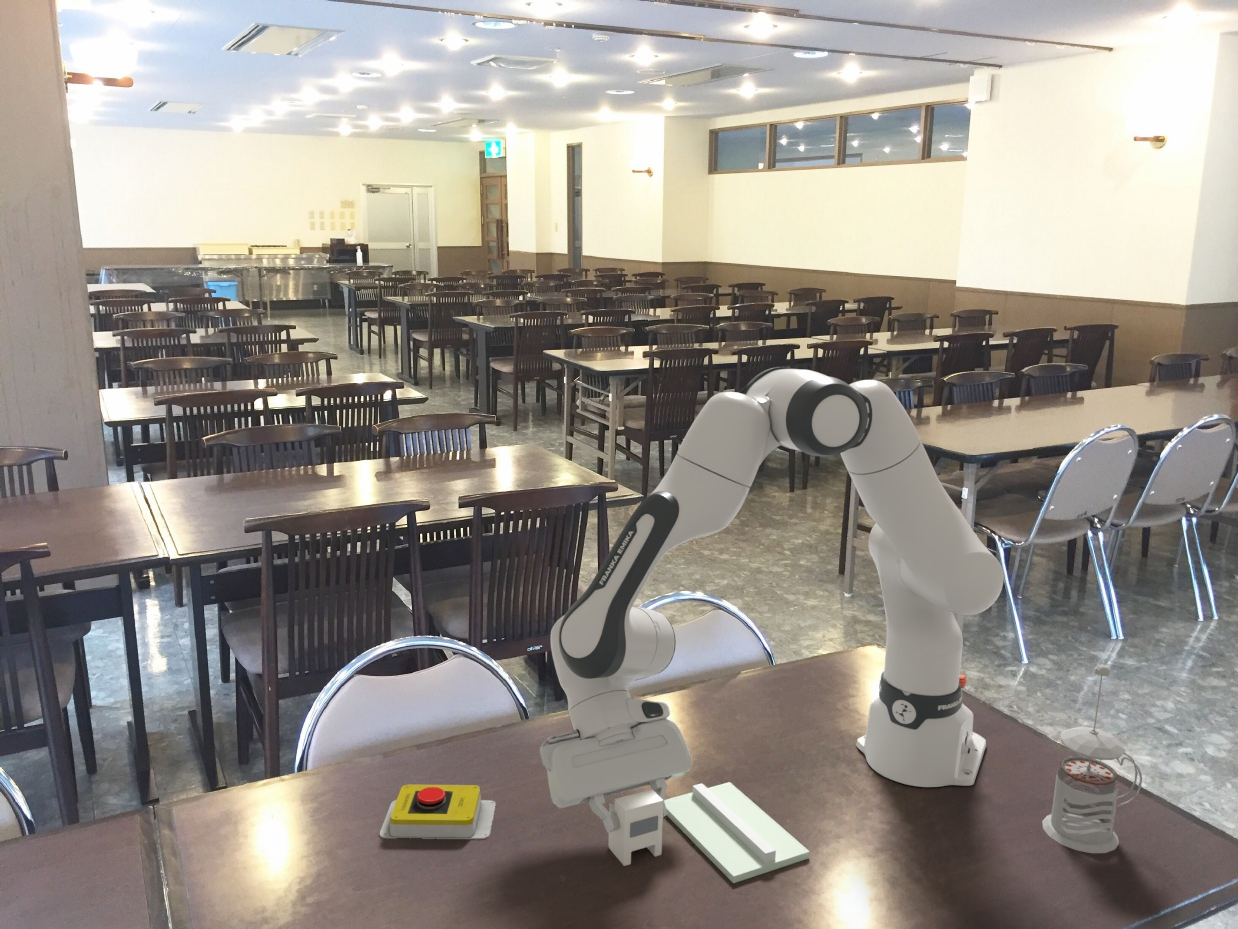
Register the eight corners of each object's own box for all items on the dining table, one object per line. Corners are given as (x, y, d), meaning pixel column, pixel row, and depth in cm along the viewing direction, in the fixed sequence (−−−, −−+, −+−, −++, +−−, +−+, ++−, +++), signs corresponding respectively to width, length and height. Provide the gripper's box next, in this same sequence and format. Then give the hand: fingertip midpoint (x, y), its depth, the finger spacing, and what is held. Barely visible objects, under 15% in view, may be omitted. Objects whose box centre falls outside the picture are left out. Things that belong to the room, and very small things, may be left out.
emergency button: (391, 775, 141) (496, 776, 142) (392, 803, 142) (496, 804, 143) (376, 812, 132) (488, 813, 133) (377, 841, 133) (489, 842, 134)
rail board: (659, 807, 142) (659, 792, 141) (729, 788, 147) (730, 773, 146) (733, 883, 125) (734, 866, 125) (809, 858, 131) (810, 842, 130)
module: (608, 847, 132) (609, 793, 130) (645, 836, 135) (646, 783, 133) (624, 867, 128) (626, 811, 126) (662, 855, 131) (663, 801, 129)
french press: (1033, 809, 143) (1053, 648, 137) (1118, 817, 141) (1142, 654, 136) (1053, 849, 134) (1075, 678, 128) (1144, 858, 132) (1170, 685, 126)
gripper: (542, 731, 129) (573, 838, 123) (677, 701, 138) (712, 798, 132) (529, 747, 134) (558, 850, 128) (660, 716, 143) (693, 811, 137)
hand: (637, 823), depth 130 cm, fingers closed on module, 6 cm apart
